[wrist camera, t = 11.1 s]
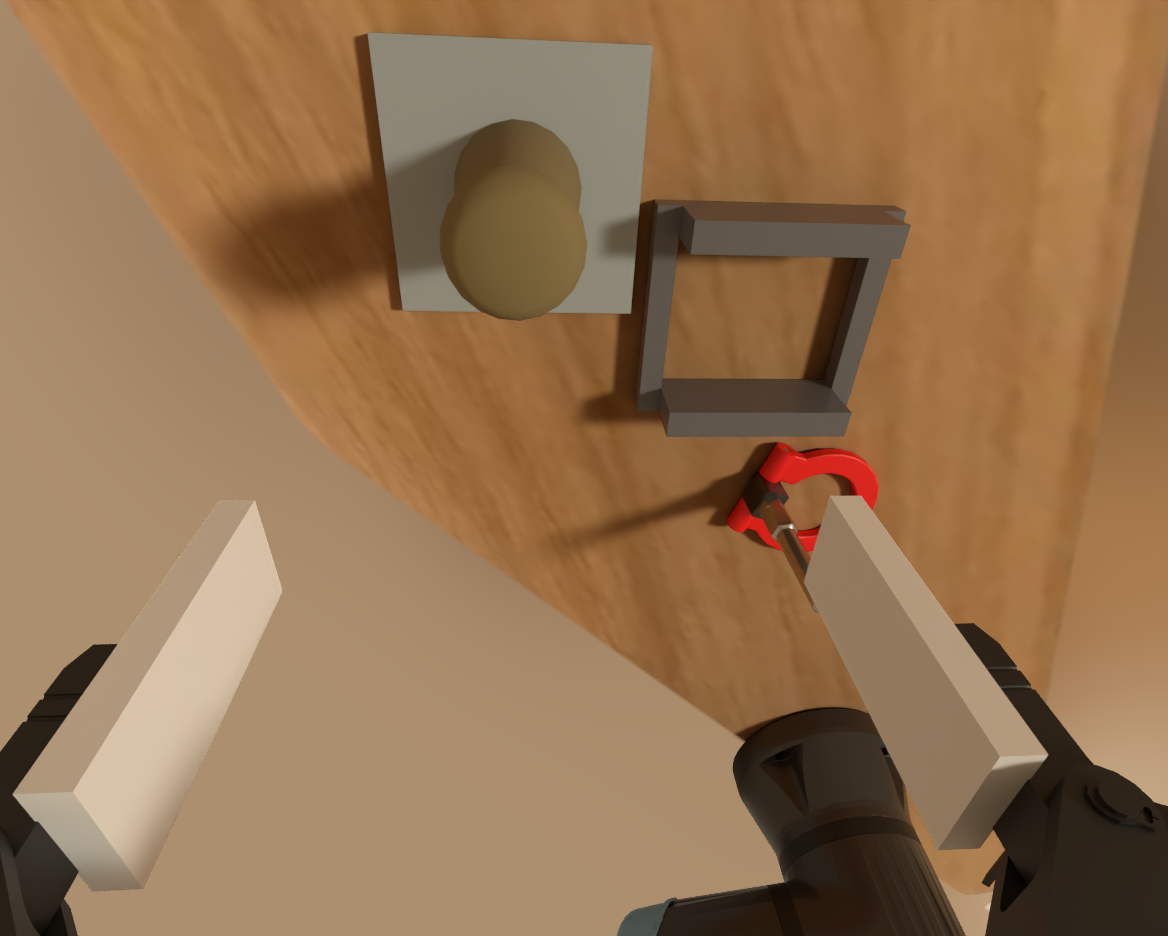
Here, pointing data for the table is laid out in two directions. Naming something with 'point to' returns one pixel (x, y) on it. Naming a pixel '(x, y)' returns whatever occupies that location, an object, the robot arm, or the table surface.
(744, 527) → the tow hook
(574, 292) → the mat
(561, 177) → the cork
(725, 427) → the grey square frame
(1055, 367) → the table surface
